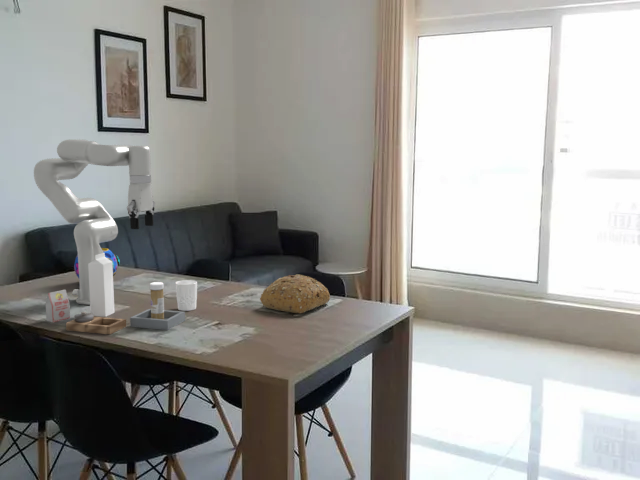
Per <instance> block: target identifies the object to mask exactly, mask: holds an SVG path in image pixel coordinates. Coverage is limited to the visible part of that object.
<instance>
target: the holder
mask: <svg viewBox="0 0 640 480" xmlns="http://www.w3.org/2000/svg"><path fill="white" fill-rule="evenodd" d="M73 317H74V318H73V319H72V320H69V321H68V322H66V323H65V328H66V331H70V332H81V333H90V334H92V333H93V334H103V335H112V334H114V333H116V332H118V331H120V330H123V329H124V328H126V327H127V319H126V318H125V319H124V318H116V317H115V318H114V317H99V316H93V314H92V313H91V312H87V311H82V312H80V313H77V314H74V316H73Z"/></svg>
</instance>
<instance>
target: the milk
mask: <svg viewBox="0 0 640 480" xmlns="http://www.w3.org/2000/svg"><path fill="white" fill-rule="evenodd" d="M88 270H89V289H90V305H89V306H90V307H89V308H90V313H92V314H93V316H94V317H105V318H108V317H109V316H111V315H113V314H115V312H116V311H115V291H114V290H115V289H114V277H113V265H112V261H111V260H109V259H108V258H106V257H105V253H101V254H98V255H95V260H94V261H92V262H90V263H89V264H88Z"/></svg>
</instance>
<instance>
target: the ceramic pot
mask: <svg viewBox="0 0 640 480" xmlns="http://www.w3.org/2000/svg"><path fill="white" fill-rule="evenodd" d="M101 249H102V251H103V253H105V257H106V258H108V259H109V260H111V261H112V265H113V278H114V277H115V275H116V273H117V269H118V267H119V266H120V264H121V263H120V262H121V261H120V258H119V256H118V255H116V254H114V253H113V251H112V250H111V249H109V248H106V247H105V248H104V247H101ZM73 264H74V266H73V269H74V273H75V275H76V277H77V278H78V279H79V266H78V254H77V255H76V256H75V260H74V263H73Z"/></svg>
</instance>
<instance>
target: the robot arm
mask: <svg viewBox="0 0 640 480" xmlns="http://www.w3.org/2000/svg"><path fill="white" fill-rule="evenodd" d="M56 152H57V155H58V157H57V158H56V157H55V158H45V159H42V160H39V161H38V162H37V163H36V164H35V166H34V167H33V178H34V181H35V184H36V186H37V187H38V189H39V190H40V192H41V193H42V194H43V195H44V196H45V197H46V198H47V199H48V200H49V201H50V202H51V203H52V205H53V206H54V208H55V209H56V210H57V211H58V213H59V214H60V215H61V217H62V218H63V219H64V220H65V221H66V222H67V223H68V224H71V225H75V226H74V229H73V236H74V237H73V239H74V241H75V245H76V251H77V255H78V266H79V278H78V281H79V289H78V288H77V289H76V288H75V289H73V291H72V292H71V294H72V295H73V296H77V298H75V303H77V304H80V305H89V306H90V289H89V270H88V264H89V263H90V262H92V261H94V260H95V255H98V254H101V253H103V251H102V249H101V248H102V247H101V245H100V244H102V243H107V242H111V241H113V240H115V239H116V238H117V237H118V234H119V229H118V225H117V223H116V221H115V219H114V218H113V217H112V215H110V213H109V212H108V211H107V209H106V208H105V207H104V206H103V205H102V203H100V201H98V200H97V199H95V198H92V197H84V198H81V197H77V196H76V195H75V194H74V193H73V191H72V190H71V189H70V188H69V187H68V185H66V184H64V183H62V182H61V181H65V180H66V181H67V180H69V181H70V180H72V179H73V180H74V179H75V178H78V176H79V175H80V174H81V173H82V172H83V171H84V170H85V169H86V167H87V166H88V165H94V166H101V167H126V166H128V171H129V172H128V174H129V184H128V192H127V193H128V194H127V205H126V210H127V214H128V217H129V219H130V223H129V224H130V229H131V230H139V229H140V218H139V215H140V213H143V212H144V213H145V214H144V226H147V227H148V226H149V227H153V226H154V214H155V213H154V212H155V206H156V201H154V198H153V197H154V196H153V187H152V165H151V164H152V163H151V149H150V147H149V146H147V145H131V144H99V143H98V142H96V141H94V140H87V139H80V138H79V139H78V138H77V139H64V140H61V142H60V143H58V145H57V147H56Z"/></svg>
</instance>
